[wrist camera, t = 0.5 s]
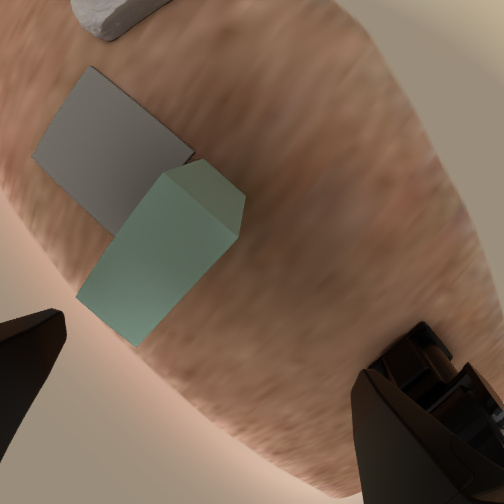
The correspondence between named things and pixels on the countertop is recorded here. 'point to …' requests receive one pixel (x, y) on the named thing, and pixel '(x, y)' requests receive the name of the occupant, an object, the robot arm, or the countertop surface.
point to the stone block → (112, 15)
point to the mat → (107, 150)
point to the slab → (164, 249)
